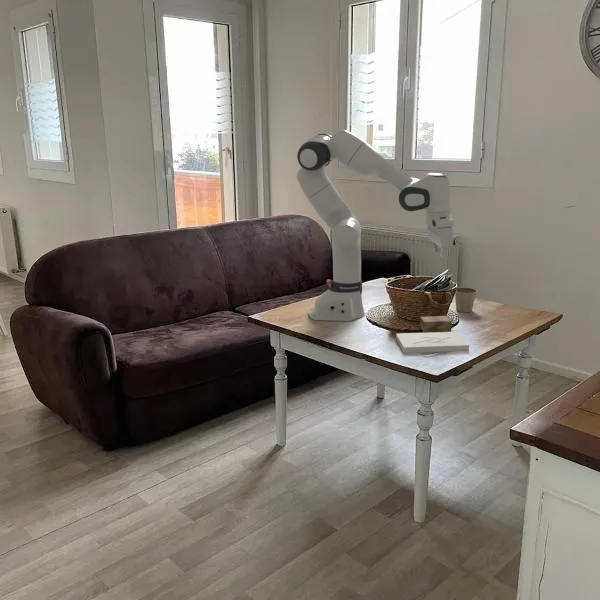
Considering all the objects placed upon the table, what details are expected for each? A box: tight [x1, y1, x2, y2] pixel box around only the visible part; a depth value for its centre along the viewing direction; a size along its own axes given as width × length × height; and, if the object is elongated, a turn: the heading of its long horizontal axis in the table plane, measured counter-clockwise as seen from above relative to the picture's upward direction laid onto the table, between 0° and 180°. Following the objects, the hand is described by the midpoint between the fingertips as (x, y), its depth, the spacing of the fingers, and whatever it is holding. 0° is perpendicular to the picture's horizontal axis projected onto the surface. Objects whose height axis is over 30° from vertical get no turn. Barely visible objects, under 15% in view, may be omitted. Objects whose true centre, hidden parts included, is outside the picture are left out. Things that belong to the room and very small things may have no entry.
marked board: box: [395, 331, 470, 354], centre depth 212 cm, size 22×14×2 cm, turn 92°
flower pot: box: [454, 286, 479, 313], centre depth 248 cm, size 9×9×9 cm
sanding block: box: [419, 315, 453, 333], centre depth 225 cm, size 10×6×5 cm, turn 92°
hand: (439, 254), depth 227 cm, fingers open, 8 cm apart
